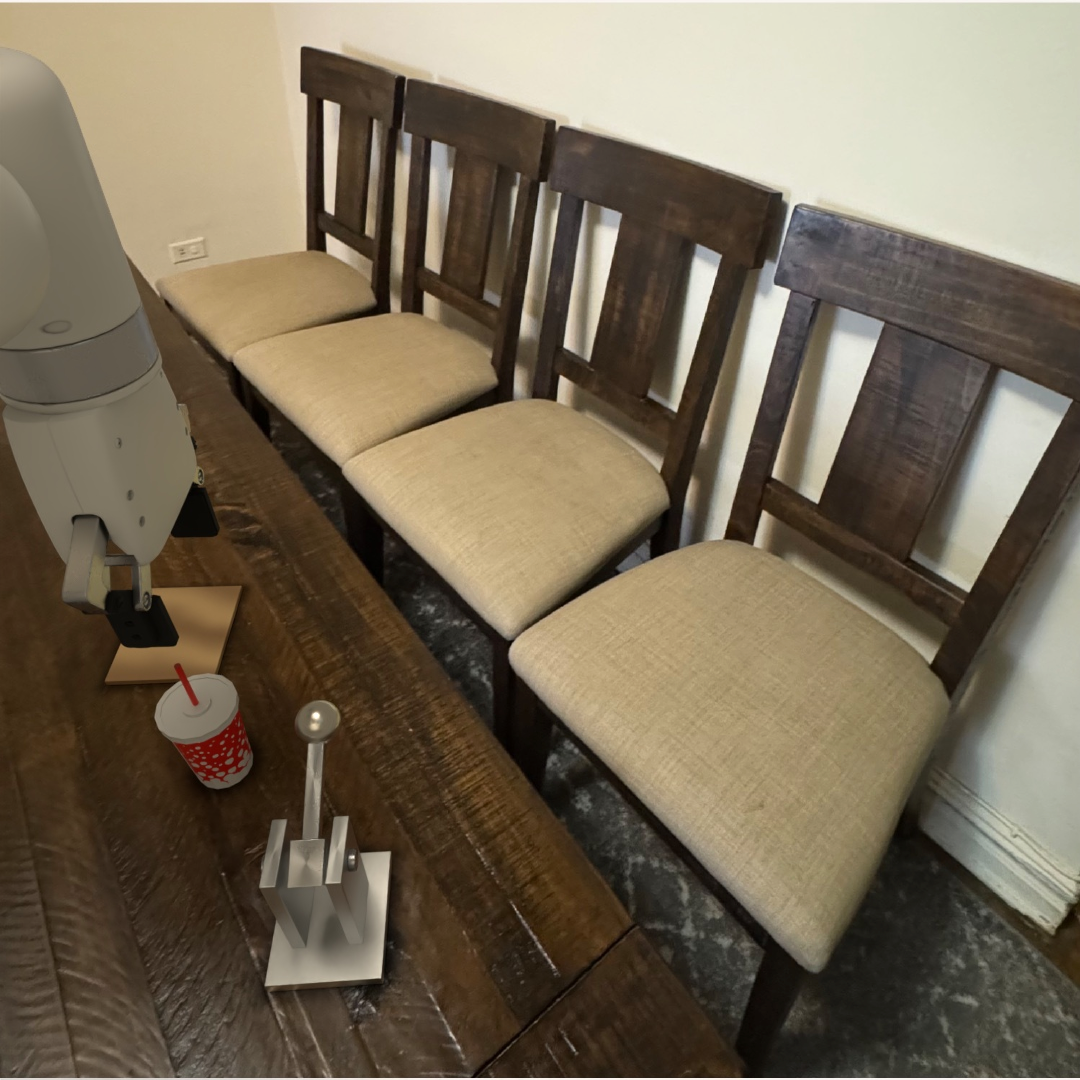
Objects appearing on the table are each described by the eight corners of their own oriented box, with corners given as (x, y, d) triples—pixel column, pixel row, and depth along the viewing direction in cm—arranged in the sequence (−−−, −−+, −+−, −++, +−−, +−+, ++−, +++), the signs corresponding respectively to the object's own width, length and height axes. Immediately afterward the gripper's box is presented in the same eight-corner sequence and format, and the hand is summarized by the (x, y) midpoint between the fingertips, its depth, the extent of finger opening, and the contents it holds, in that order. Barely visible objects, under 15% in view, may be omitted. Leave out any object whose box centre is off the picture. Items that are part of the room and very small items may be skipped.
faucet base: (289, 863, 58) (255, 788, 50) (392, 857, 59) (375, 782, 51) (267, 991, 52) (224, 929, 44) (383, 983, 52) (361, 920, 44)
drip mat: (215, 681, 71) (213, 677, 70) (106, 685, 70) (104, 681, 70) (243, 589, 79) (241, 585, 79) (146, 592, 79) (144, 588, 78)
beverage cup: (275, 764, 65) (236, 665, 55) (210, 811, 61) (156, 715, 52) (239, 721, 68) (195, 621, 58) (174, 764, 64) (117, 665, 55)
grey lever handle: (302, 704, 54) (291, 696, 51) (346, 702, 54) (338, 694, 51) (290, 886, 49) (277, 888, 46) (338, 883, 50) (329, 885, 47)
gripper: (63, 273, 43) (158, 500, 54) (-109, 452, 30) (62, 698, 42) (197, 274, 43) (262, 499, 55) (82, 450, 31) (199, 693, 42)
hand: (176, 585), depth 48 cm, fingers open, 9 cm apart
